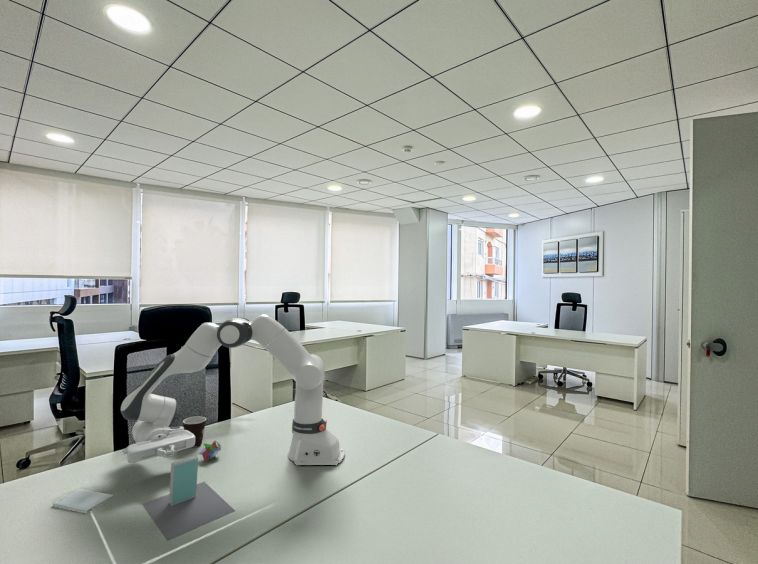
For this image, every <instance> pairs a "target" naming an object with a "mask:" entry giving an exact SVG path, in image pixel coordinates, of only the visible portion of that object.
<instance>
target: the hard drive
mask: <svg viewBox="0 0 758 564" xmlns="http://www.w3.org/2000/svg"><path fill="white" fill-rule="evenodd" d="M113 496H114V494H109V493H103V492H100V491H95V490H90V489H84V488H78V489H76V490H75V491H73V492H71V493H69V494H66V495H65V496H63V497H61V498H60V499H57V500H55V501H54V502H53V503H52V506H55V507H54V508H57V507H59V508H58V509H62V508H63V509H62V510H67V509H68V511H71V510H72V512H76V511H77V513H83V514H86V515H87V514H89V513H90V512H92V511H93V508H96V507H97V506H98V505H100V504H102V503H103V502H105V501H107V500H109V499H111V498H112V497H113ZM52 506H51V507H52Z"/></svg>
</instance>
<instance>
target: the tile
mask: <svg viewBox="0 0 758 564" xmlns="http://www.w3.org/2000/svg"><path fill="white" fill-rule="evenodd" d="M170 465H171V466H170V481H169V494H170V496H169V504H170V505H171V506H173V505H175V504H178V503H181V502H183V501H186V500H189V499H191V498H194V497H196V490H197V484H198V468H199V457H198V456H197V455H193V456H190V457H186V458H183V459H180V460H176V461H174V462H170Z"/></svg>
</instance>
